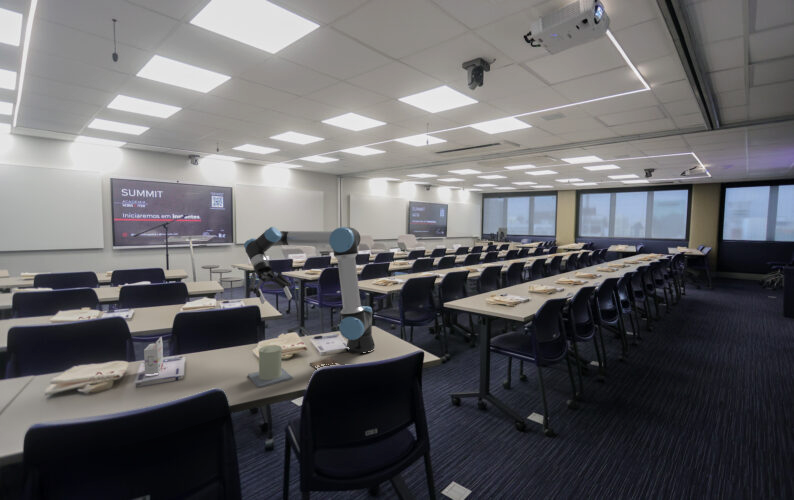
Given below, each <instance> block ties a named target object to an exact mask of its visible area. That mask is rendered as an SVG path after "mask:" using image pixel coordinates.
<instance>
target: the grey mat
mask: <svg viewBox="0 0 794 500" xmlns="http://www.w3.org/2000/svg"><path fill="white" fill-rule="evenodd" d="M247 376H248V378H249V379H250V380H251V382H253V383H254V385H255V386H256V387H257V388H259V389H261V388H263V387H266V386H267V387H268V386H272V385H275V384H278V383H282V382H286V381H290V380H293V379H294V378H293V376H292V375H291V374H290V373H289V372H287V371H286V370H285V369H284V368H283V367H282V375H281V376H280V377H279V378H276V379H272V380H262V379H260V378H259V371H256V372H252V373H248V374H247Z"/></svg>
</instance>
